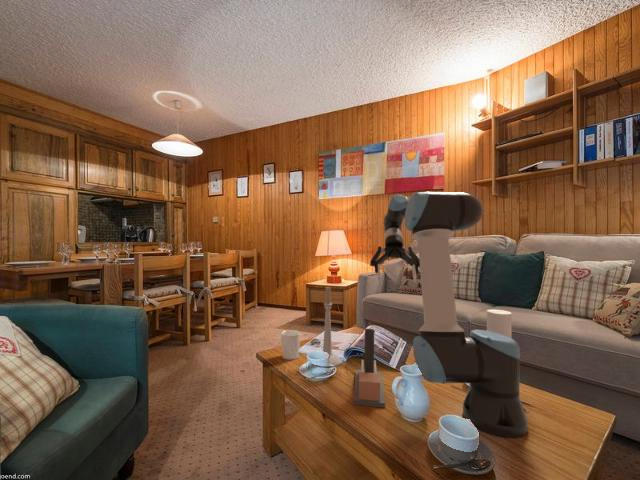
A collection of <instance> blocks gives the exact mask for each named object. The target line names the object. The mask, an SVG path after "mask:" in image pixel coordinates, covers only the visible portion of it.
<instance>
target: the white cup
mask: <svg viewBox="0 0 640 480" xmlns="http://www.w3.org/2000/svg"><path fill="white" fill-rule="evenodd" d="M280 337H281V352H282V353H281V354H282V357H281V358H283V359H284V360H296V359H298V358H299V356H300V355H299V354H300V346H301V345H300V343H301V331H299V330H296V329H286V330H283V331H281V333H280Z"/></svg>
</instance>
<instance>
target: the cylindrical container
mask: <svg viewBox="0 0 640 480" xmlns="http://www.w3.org/2000/svg"><path fill="white" fill-rule="evenodd" d="M512 317H513V314H512V312H510V311H508V310H503V309H492V308H491V309H486V331H490V332H494V333H498V334H501V335H504V336H507V337H509V338H511V339H512V332H513V329H512V324H513V323H512V321H513V320H512Z"/></svg>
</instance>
